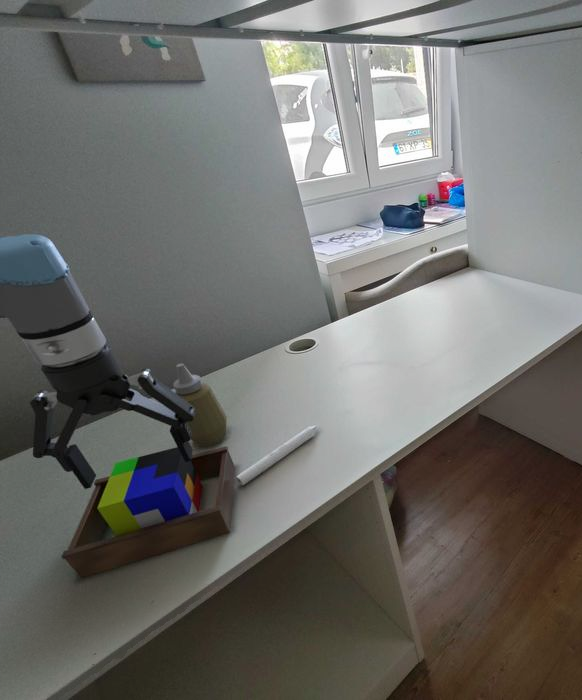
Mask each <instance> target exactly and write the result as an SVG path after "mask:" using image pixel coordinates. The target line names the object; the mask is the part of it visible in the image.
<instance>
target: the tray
mask: <svg viewBox="0 0 582 700" xmlns="http://www.w3.org/2000/svg"><path fill="white" fill-rule="evenodd" d="M191 463H192V465H193V467H194V469H195V471H196V473H197V475H198V477H199V479H200V481H201V480H204V479H209V478H212V477H216V476H219V477H218V484H217V493H216V499H215V500H216V501H215V506H214V507H211V508H207V509H203V510H199V512H196V513H193V514H189V515H186V516H183V517H179V518H176V519H172V520H169V521H165V522H162V523H159V524H155V525H152V526H148V527H145V528H141V529H138V530H135V531H131V532H128V533H124V534H121V535H118V536H116V535H114V536H112V537H107V538H104V539H102V537H103V534H104V532H105V529H106V527H107V525H108V523H107V522H106V520H105V519H104V517H103V516H102V514H101V513H100V511H99V510H98V509H97V508H98V505H99V503H100V500H101V498H102V495H103V493H104V490H105V488H106V485H107V483H108V480H109V478H110V475H109V476H105V477H101V478H98V479H94V481H93V485H94V489H93V491H92V493H91V496H90V499H89V501H88V503H87V505H86V507H85V509H84V512H83V515H82V516H81V519H80V521H79V523H78V526H77V527H76V530H75V532H74V535H73V537H72V539H71V542H70V544H69V547H68V548H67V549H66V550H64V551H63V552H62V555H61V557H60V558H62V560H65V561H66V562H67V563H68V565H69V566H70V568H72V570H73V571H74V572H75V573H76V574H77V576H78V577H79V578H80V579H83V578H87V577H91V576H94V575H96V574H99V573H103V572H106V571H109V570H112V569H115V568H116V569H117V568H119V567H123V566H126V565H129V564H133V563H134V562H135V563H136V562H138V561H141V560H144V559H148V558H152V557H154V556H158V555H161V554H164V553H168V552H170V551H174V550H176V549H181V548H183V547H187V546H190V545H193V544H196V543H197V544H198V543H200V542H203V541H206V540H210V539H213V538H216V537H219V536H221V535H226V534H229V533H230V532H231V526H232V511H233V502H234V501H233V500H234V490H235V489H234V488H235V479H236V466H235V464H234V462H233V458H232V456H231V454H230V452H229V447H228V446H227V445H225V446H221V447H217V448H214V449H210V450H206V451H202V452H198V453H194V454H192V457H191Z"/></svg>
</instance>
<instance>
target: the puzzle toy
mask: <svg viewBox="0 0 582 700" xmlns="http://www.w3.org/2000/svg"><path fill="white" fill-rule="evenodd" d="M109 476H110V478H109V480H108V483H107V485H106V488H105V490H104V493H103V495H102V498H101V500H100V503H99V505H98V508H97V509H98V510H99V511H100V513H101V514H102V516H103V517H104V519H105V520H106V522H107V526H109V528H110V529H111V531H112V532H113V533H114V536H118V535H121V534H124V533H128V532H131V531H135V530H138V529H141V528H145V527H148V526H152V525H155V524H159V523H162V522H165V521H169V520H172V519H176V518H179V517H183V516H186V515H189V514H193V513H196V512H200V511H201V510H200V509H201V502H202V496H203V490H204V486H203V484H202V482H201V480H200V479H199V477H198V475H197V473H196V471H195V469H194V467H193V465H192V463H191V461H189V462H185V461H184V459H183V457H182V455H181V453H180V451H179V449H178V447H177V446H176V447H172V448H169V449H164V450H160V451H156V452H153V453H149V454H145V455H141V456H136V457H132V458H129V459H125V460H121V461H117V462H115V463H114V466H113V468H112V471H111V472H110V475H109Z"/></svg>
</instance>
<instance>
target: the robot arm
mask: <svg viewBox="0 0 582 700" xmlns="http://www.w3.org/2000/svg"><path fill="white" fill-rule="evenodd" d="M2 318H3V319H4V318H7V320H9V322H10V324H11V325H12V326H13V327H14V329H15V331H16V333H17V334H18V336H19V337H20V338H21V340H22V342H23V343H24V345H25V347H26V348H27V349H28V351H29V353H30V355H31V356H32V357H33V360H35V362H36V363H37V364H39V365H41V366H40V371H41V372H42V374H43V375H44V376H45V379H46V380H47V381H48V383H49V385H50V386H51V388H52V389H54V390H55V391H53V392H49V391H48V390H46V389H41V390H38V391H37V393H35V395H34V396H33V398H32V399H31V400H30V402H29V404H30V406H31V408H32V411H33V412H34V414H35V416H34V432H33V446H32V456H33V458H35V459H42V458H44V457H51V458H55V459H56V461H57V462H58V464H59V465H60V466H61V467H62V469H63V471H65V472H67V473H69V472H72V473H73V474H74V476H75V477H76V479H77V480H78V482H79V483H80V484H81V486H82V487H83V489H84V490H88V489H90V488H92V486H93V485H94V482H95V480H96V478H97V474H96V472H95V471H94V469H93V468H92V466H91V465H90V463H89V462H88V460H87V458H85V456H84V454H83V453H82V451H81V450H80V448H79V447H78V446H77V444H76V443H74V444H70V445H69V443H70V441H71V439H72V437H73V435H74V433H75V430H77V428H78V426H79V423H80V422H81V420H82V417H83V416H84V414H85V415H91V416H98V415H101V414H102V413H109V412H115V411H118V409H119V408H120V409H122V410H125V411H127V412H131V411H133V412H135V413H138V414H141V415H143V416H145V417H148V418H150V419H153V420H155V421H157V422H160V423H163V424H166V425H167V426H170V429H169V433H170V435H171V437H172V439H173V441H174V442H175V445H176V447H178V449H179V451H180V453H181V455H182V457H183V459H184V461H185V462H189V461H191V457H192V455H193V452H194V449H193V447H192V445H191V443H190V442H191V434H192V432H191V430H190V428H189V426H188V424H187V422H188V421H189V422H190V421H193V419H194V415H195V411H196V408H195V407H194V406H192V405H191V404H190V403H188V402H187V401H185V400H184V399H183V398H181V397H180V396H178V395H177V394H176V393H175V392H174V391H173V390H171V389H170V388H169V387H168V386H166V385H165V384H164V383H162V382H161V381H159V380H158V379H157V378H156V376H155V375H154V373H153V372H152V370H151V369H149V368H143V369H142V370H141V371H140V373H136V374H133V375H129V376H128V375H126V373H124V372H123V370H122V368H121V366H120V363H119V361H118V360H117V358H116V356H115V354H114V352H113V350H112V349H111V347H110V346H109V345H108V344H106V343H107V339H106V337H105V335H104V333H103V332H102V330H101V328H100V326H99V324H98V322H97V321H96V318H95V317H94V315H93V313H92V311H91V310H90V308H89V306H88V304H87V302H86V300H85V298H84V295H83V294H82V292H81V289H80V288H79V286H78V285H77V283H76V280H75V279H74V277H73V275H72V273H71V270H70V267H69V264H68V263H67V262H66V261H65V260H64V258H63V257H62V255H61V254H60V252H59V250H58V249H57V247H56V246H55V244H54V242H53V241H52V240H51V239H50V238H48V237H46V236H44V235H41V234H33V233H26V234H20V235H19V234H18V235H10V236H9V235H8V236H2V237H0V319H2ZM131 386H135V387H136V388H137V390H140V391H141V390H143V391H144V392H145V393H146V394H147V395H148V396H150V397H151V398H153V399H150V398H149V397H146V396H144V395H142V394H141V393H140V392H139V391H137V390H135V389H132V388H131ZM126 398H128V399H129V400H127V399H126ZM58 403H60V404H62V405H64V406H66V407H69V408H71V409H72V410H71V412H70V414H69V416H68V417H67V420H66V422H65V424H64V427H63V428H62V430H61V432H60V434H59V436H58V439H57V440H56V442H52V435H53V423H54V413H55V411H54V410H55V406H56V405H57V404H58ZM68 445H69V446H68Z"/></svg>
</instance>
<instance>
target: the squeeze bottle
mask: <svg viewBox="0 0 582 700" xmlns="http://www.w3.org/2000/svg"><path fill="white" fill-rule="evenodd" d="M175 367H176V374H177V379H176V380H175V381H174V382H173V385H172V386H173V389H174V390H175V392H174V393H176V394H177V395H178V396H180V397H181V398H183V399H184V400H185V401H187V402H188V403H190V404H191V405H192V406H194V407H195V408H196V411H195V415H194V419H193V421H190V422H189V421H188V422H187V424H188V426H189V428H190V430H191V432H192V434H191V439H190V441H192V442H193V443H194V444H195V445H197V446H199V447H207V446H208V447H209V446H212V445H214V444H217V443H219V442H220V441H221V440H223V439H224V438H225V436H226V435H227V420H228V416H227V415H226V413H225V411H224V410H223V407H222V405H221V404H220V402H219V401H218V399H217V397H216V395H215V393H214V391H213V390H212V388H211V386H210V385H209V384H208V383H205V382H203V381H202V378H201V376H200V375H198V374H191V372H190V371H189V370H188V368H187V367H186V366H185V365H184V363H178V364H176V366H175Z"/></svg>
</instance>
